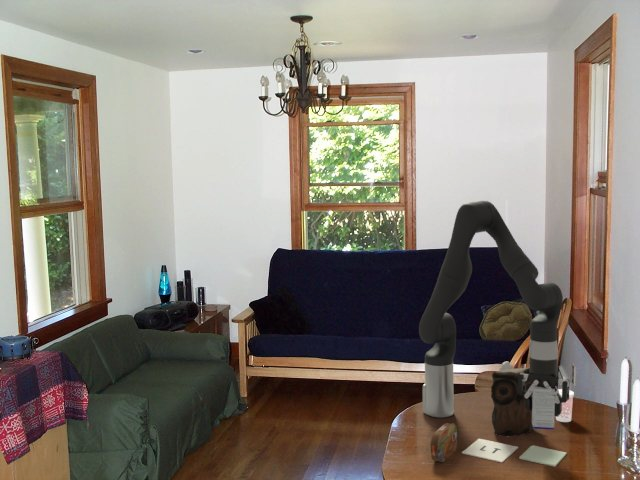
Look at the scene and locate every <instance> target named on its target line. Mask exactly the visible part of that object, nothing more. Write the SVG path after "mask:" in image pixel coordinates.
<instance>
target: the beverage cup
mask: <svg viewBox="0 0 640 480" xmlns="http://www.w3.org/2000/svg"><path fill="white" fill-rule="evenodd" d="M562 377H563V378H562V380H566V377H565V376H562ZM557 389H558V390H559V394H560V395H561V397H562V388H557ZM574 396H575V392H574V391H572V390H571V389H569V400H567V402H565V403H564V402H563V403H562V412H561V414H560V415H559V416H558V417H557V416H555V420H556V421H557V422H561V423H569V422H571V421H572V418H573V417H572V415H573V402H574V400H573V399H574ZM555 403H556V402H555Z"/></svg>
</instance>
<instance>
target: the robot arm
mask: <svg viewBox="0 0 640 480" xmlns="http://www.w3.org/2000/svg"><path fill="white" fill-rule="evenodd" d="M483 232H485V233H487V234H488V235H489V236H490V237H491V239H493V240H494V242H495V244H496V246H497V251H498V256H499V259H500V260H499V261H500V262H501V265H502V267H503V268H504V269H505V271H506V272H507V274H508V275H509V276H510V277H511V279H512V280H513V281H514V282H515V284H516V286H517V289H518V291H519V294H520V296H521V297H522V301H523V302H524V303H525V305H526V306H527V307H528V308H529V309H530V310H533V311H536V312H538V314H537V315H536V316H535V317H534V318H533V319H531V320H530V324H529V325H530V327H529V333H530V334H529V336H530V337H529V339H530V340H529V346H528V347H529V348H528V350H529V352H528V356H529V357H528V358H529V359H528V366H529V367H528V368H529V374H525V373H524V372H522V373H520V374H519V375H518V394H519V395H522V396H524V397H525V408H526V409H527V411H531V410H532V397H531V395H532V392H533V386H534V387H536V386H538V387H544V388H547V389H551V392H552V396H555V402H556V403H555V417H556V416H557V417H558V416H559V415H560V414H561V412H562V403H563V402H564V403H565V402H567V400H569V390H570V381H571V380H570V379H569V378H565V380H563V378H559V375H558V374H559V373H558V367H559V366H558V361H559V360H558V359H559V351H558V350H559V349H558V348H559V347H558V328H557V326H558V322H559V319H560V315H561V312H562V311H561V310H562V307H563V302H564V301H563V299H564V298H563V292H562V288H561V287H560V286H559V285H557V284H556V283H554V282H545V283H538V281H536V279H537V278H538V277H539V270H538V268H537V267H536V265H535V264H534V262H533V261H531V259H530V258H529V257H528V255H527V254H526V253H525V252H524V251H523V249H521V247H520V246H519V244H518V243H517V241H516V240H515V238H514V236H513V235H512V232H511V231H510V230H509V228H508V226H507V224H506V223H505V221H504V219H503V217H502V216H501V213H500V212H499V210H498V209H497V207H496V206H495V205H494V204H493V203H492V202H491V201H488V200H477V201H469V202H466V203H463V204H462V205H461V206H460V207H459V208H458V210H457V213H456V216H455V220H454V224H453V229H452V233H451V239H450V241H449V245H448V248H447V251H446V254H445V258H444V260H443V263H442V265H441V268H440V271H439V274H438V277H437V281H436V284H435V286H434V289H433V291H432V294H431V297H430V299H429V301H428V304H427V306H426V308H425V310H424V312H423V314H422V316H421V319H420V321H419V325H418V334H419V337H420V339H421V341H422V342H423V343H425V344H433V346H432V347H431V348H430V349H429V350H428V351H426V353H425V355H424V384H423V385H422V413H423V414H425V415H427V416H430V417H433V418H448V417H451V416H453V415H454V413H455V412H454V410H455V409H454V408H455V405H454V403H455V402H454V399H455V398H454V395H455V394H454V391H455V390H454V358H455V355H456V349H457V348H456V347H457V326H456V321H455V319H454V317H453V316H452V314H450V313H448V312H447V311H448V310H449V308H450V307H452V305H454V303H456V301H457V300H458V299H459V298H460V297H461V296H462V295H463V293H465V291H466V289H467V287H468V284H469V281H470V279H471V276H472V272H473V264H472V259H471V256H470V247H471V244H472V242H473V238H474V236H475V235H476V234H478V233H483ZM527 378H528V380H529V381H530V383H531V384H532V385H531V387H530V388H529V389H528V391H526V390H525V381H526V380H527ZM558 384H559V385H560V389H562V397H561V395H560V394H559V390H558V389H559V388H558V387H557V385H558ZM553 388H554V389H555V393H554V392H553V390H552V389H553Z"/></svg>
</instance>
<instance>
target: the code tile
mask: <svg viewBox="0 0 640 480" xmlns="http://www.w3.org/2000/svg"><path fill="white" fill-rule="evenodd" d="M518 449H519V446H516V445H511V444H507V443H501V442H497V441H492V440H488V439H483V438H477V439H476V440H475V441H474V442H473V443H472V444H471V445H469V446H467V448H466V449H464V450H463V451H461V454H462V455H467V456H471V457H476V458H479V459H484V460H489V461H491V462H492V461H493V462H497V463H504V462H505V461H506V460H507V459H508V458H509V457H510V456H511V455H512V454H513V453H514V452H515V451H517V450H518Z"/></svg>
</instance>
